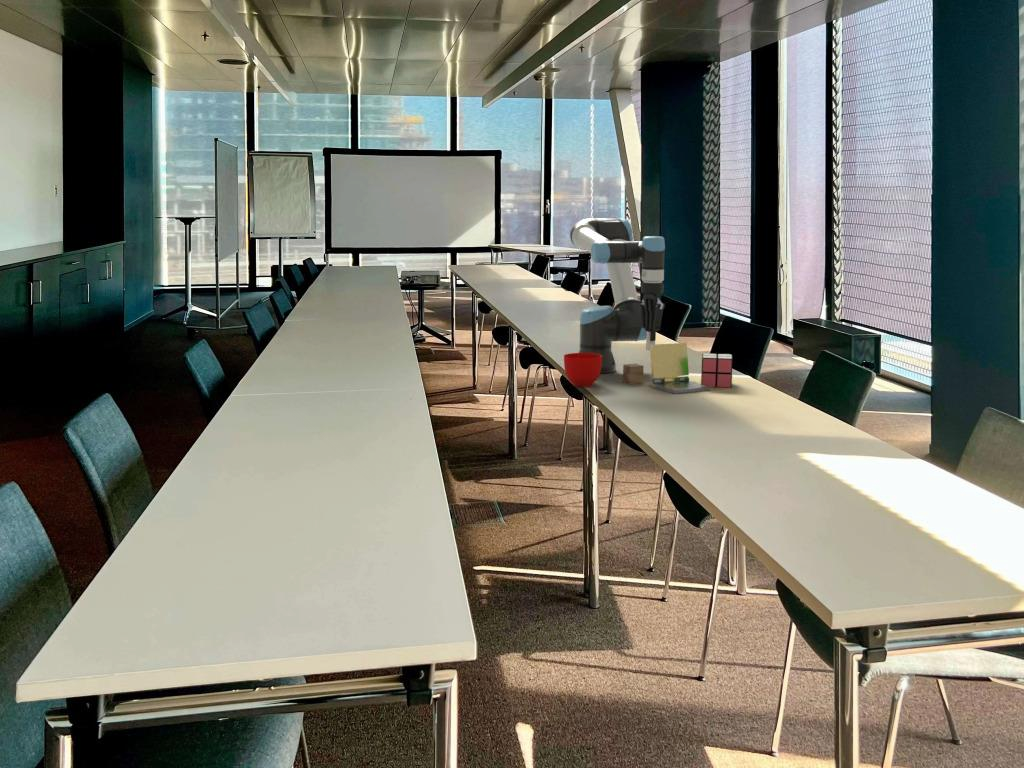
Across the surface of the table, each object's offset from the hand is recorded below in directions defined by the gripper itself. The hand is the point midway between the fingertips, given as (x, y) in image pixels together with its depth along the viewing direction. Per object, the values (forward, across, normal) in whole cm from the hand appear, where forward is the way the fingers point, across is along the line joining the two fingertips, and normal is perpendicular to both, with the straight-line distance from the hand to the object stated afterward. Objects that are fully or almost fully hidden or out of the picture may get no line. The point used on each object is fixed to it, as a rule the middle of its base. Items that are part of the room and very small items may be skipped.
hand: (650, 349), depth 333 cm
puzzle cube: (+11, +18, +15) cm, 26 cm away
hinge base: (+10, +19, 0) cm, 21 cm away
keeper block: (+11, +2, -8) cm, 13 cm away
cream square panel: (+3, +13, 0) cm, 13 cm away
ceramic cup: (+11, -2, -25) cm, 27 cm away
